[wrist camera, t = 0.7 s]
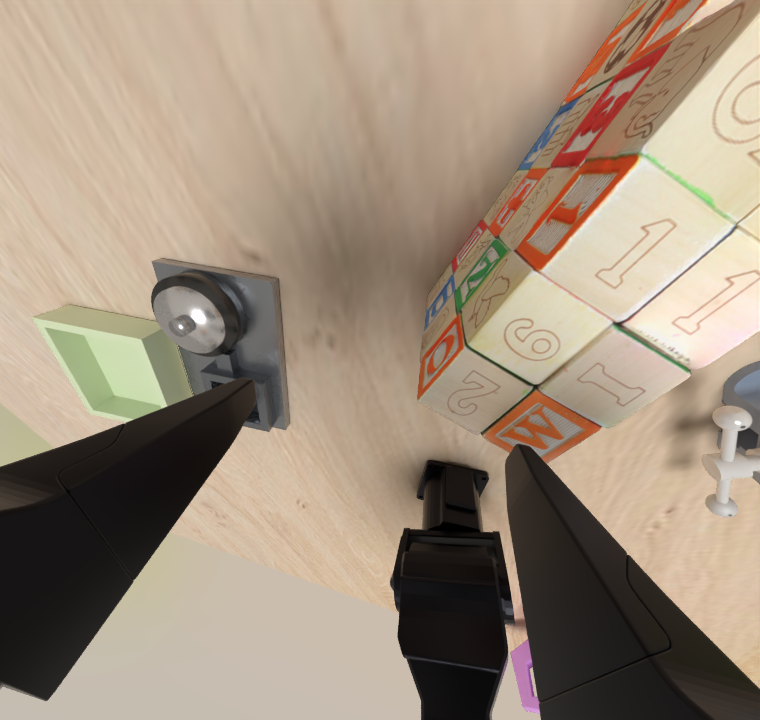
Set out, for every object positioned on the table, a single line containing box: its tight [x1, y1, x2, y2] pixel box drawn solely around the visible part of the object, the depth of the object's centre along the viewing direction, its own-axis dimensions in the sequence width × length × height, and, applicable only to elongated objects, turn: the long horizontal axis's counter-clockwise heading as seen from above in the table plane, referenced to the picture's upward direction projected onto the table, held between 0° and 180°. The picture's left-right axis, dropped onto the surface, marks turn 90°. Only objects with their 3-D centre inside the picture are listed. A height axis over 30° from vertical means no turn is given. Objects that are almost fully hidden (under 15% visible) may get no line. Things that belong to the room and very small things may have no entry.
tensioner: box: [151, 258, 290, 432], centre depth 25 cm, size 16×10×4 cm, turn 173°
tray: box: [32, 305, 193, 422], centre depth 29 cm, size 12×11×3 cm
